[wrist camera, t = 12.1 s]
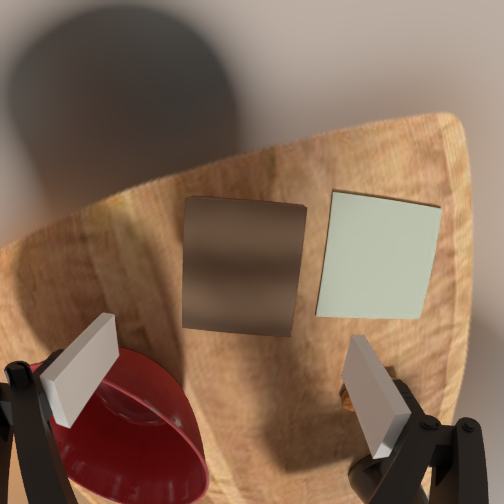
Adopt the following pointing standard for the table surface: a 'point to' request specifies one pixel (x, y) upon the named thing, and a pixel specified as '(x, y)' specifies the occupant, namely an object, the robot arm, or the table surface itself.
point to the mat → (377, 258)
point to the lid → (241, 265)
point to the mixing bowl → (135, 438)
